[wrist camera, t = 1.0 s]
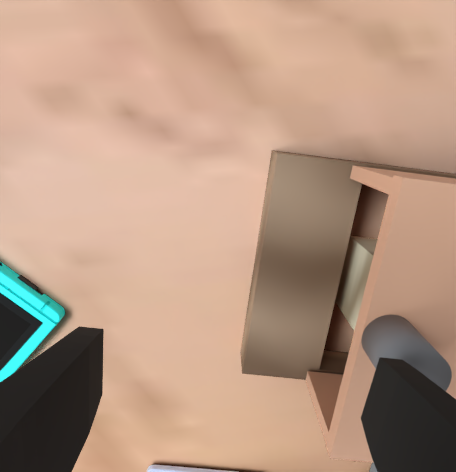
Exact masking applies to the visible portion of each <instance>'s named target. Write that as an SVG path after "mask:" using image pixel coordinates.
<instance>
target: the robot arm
mask: <svg viewBox="0 0 456 472" xmlns="http://www.w3.org/2000/svg"><path fill="white" fill-rule="evenodd" d="M102 379H103V329H97V328H87V327H78V328H77V329H75V330H74V331H72V332H71V333H69V334H68V335H67V336H65V337H64V338H62V339H61V340H60V341H58V342H57V343H56V344H54V345H53V346H51V347H50V348H49V349H47V350H46V351H45V352H43V353H42V354H40V355H39V356H38V357H36V358H35V359H33V360H32V361H31V362H29V363H28V364H26V365H25V366H23V367H22V368H20V369H19V370H18V371H16V372H15V373H13V374H12V375H10V376H9V377H7V378H6V379H4V380H3V381H1V382H0V472H72V470H73V467H74V465H75V463H76V461H77V459H78V457H79V454H80V452H81V450H82V448H83V446H84V444H85V441H86V439H87V437H88V435H89V432H90V429H91V426H92V423H93V421H94V418H95V415H96V412H97V409H98V405H99V402H100V399H101V396H102ZM361 421H362V425H363V429H364V432H365V436H366V440H367V443H368V447H369V450H370V453H371V457H372V459H373V462H374V464H375V467H376V469H377V472H456V399H455V398H454V397H452V396H451V395H450V394H448V393H447V392H446V391H444V390H443V389H442V388H441V387H439V386H438V385H437V384H435V383H434V382H433V381H431V380H430V379H429V378H428V377H426V376H425V375H424V374H422V373H421V372H420V371H418V370H417V369H415V368H414V367H413V366H411V365H410V364H408V363H407V362H405V361H404V360H402V359H392V358H382V357H380V358H379V361H378V364H377V367H376V370H375V374H374V377H373V380H372V383H371V386H370V390H369V393H368V396H367V399H366V403H365V406H364V409H363V412H362V415H361ZM147 472H237V471H225V470H213V469H202V468H190V467H178V466H166V465H151V466H149V467H148V469H147Z"/></svg>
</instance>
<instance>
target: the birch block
mask: <svg viewBox="0 0 456 472" xmlns="http://www.w3.org/2000/svg"><path fill="white" fill-rule="evenodd" d="M376 243H377V239H374V238H365V237H357V236H350V238H349V243H348V247H347V251H346V256H345V260H344V264H343V269H342V273H341V277H340V282H339V286H338V290H337V295H336V299H335V302H336V304H337V305H338V307H339V308H340V310H341V311H342V313H343V314H344V316H345V318H346V319H347V321H348V322H349V324H350V325H351V327H352V329H353V330H355V326H356V322H357V319H358V315H359V311H360V307H361V303H362V299H363V295H364V291H365V287H366V283H367V279H368V275H369V271H370V267H371V263H372V259H373V255H374V251H375V247H376Z"/></svg>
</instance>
